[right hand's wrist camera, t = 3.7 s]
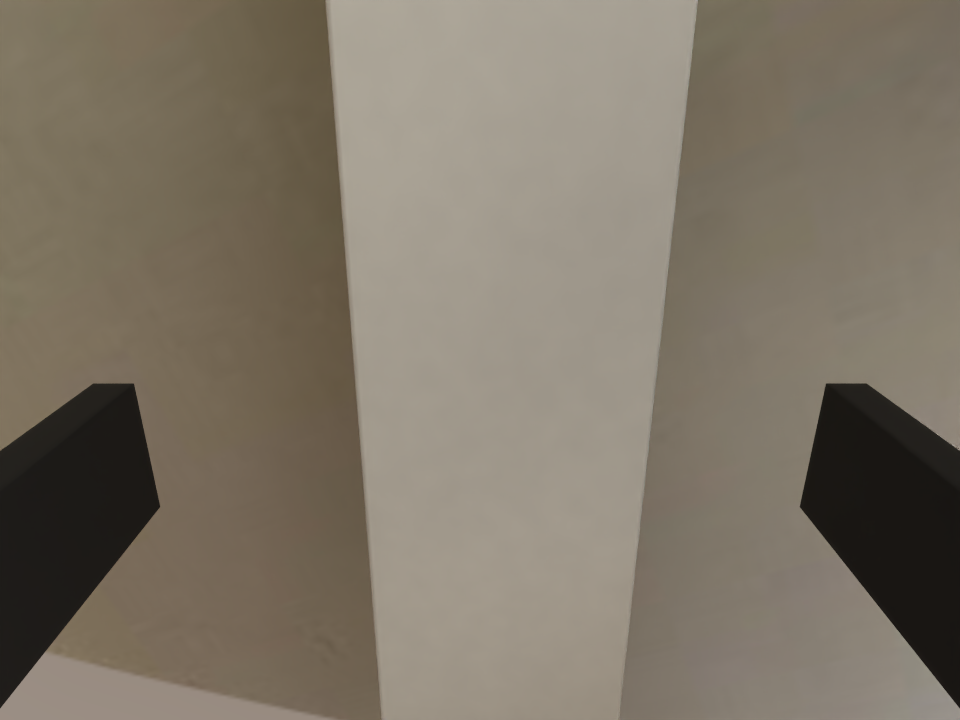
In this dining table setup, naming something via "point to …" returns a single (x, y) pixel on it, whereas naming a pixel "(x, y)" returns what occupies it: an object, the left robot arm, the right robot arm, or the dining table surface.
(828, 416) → the right robot arm
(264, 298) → the dining table surface
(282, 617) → the dining table surface
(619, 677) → the bar
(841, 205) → the dining table surface
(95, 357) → the dining table surface
